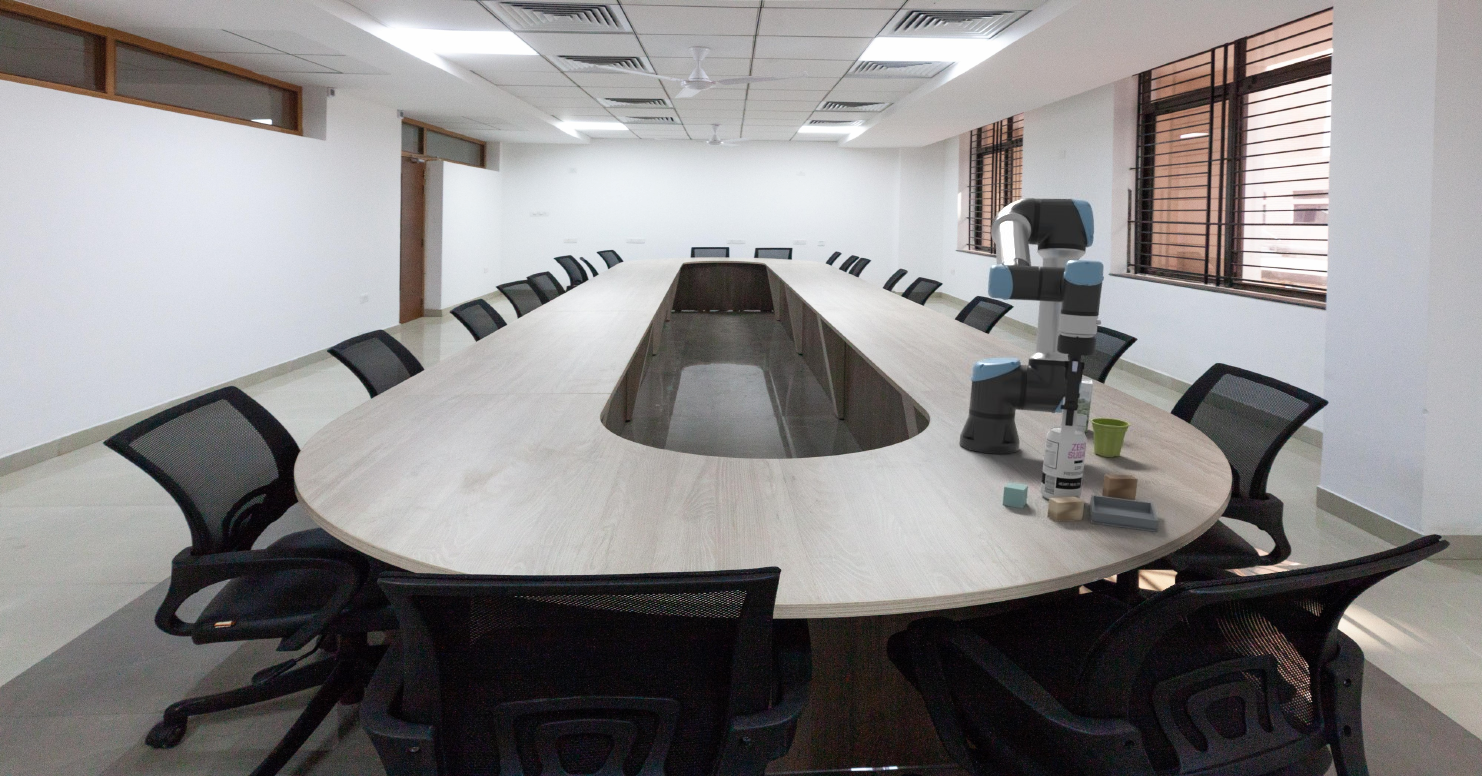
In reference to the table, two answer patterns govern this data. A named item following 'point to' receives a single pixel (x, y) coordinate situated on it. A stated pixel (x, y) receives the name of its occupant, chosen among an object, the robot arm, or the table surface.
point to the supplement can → (1063, 464)
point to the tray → (1123, 513)
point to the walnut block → (1120, 486)
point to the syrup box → (1084, 405)
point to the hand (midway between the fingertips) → (1067, 433)
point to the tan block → (1065, 508)
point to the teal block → (1015, 495)
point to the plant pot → (1108, 436)
